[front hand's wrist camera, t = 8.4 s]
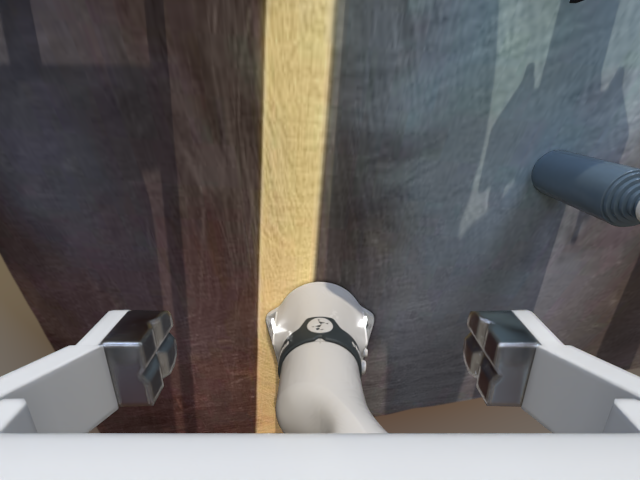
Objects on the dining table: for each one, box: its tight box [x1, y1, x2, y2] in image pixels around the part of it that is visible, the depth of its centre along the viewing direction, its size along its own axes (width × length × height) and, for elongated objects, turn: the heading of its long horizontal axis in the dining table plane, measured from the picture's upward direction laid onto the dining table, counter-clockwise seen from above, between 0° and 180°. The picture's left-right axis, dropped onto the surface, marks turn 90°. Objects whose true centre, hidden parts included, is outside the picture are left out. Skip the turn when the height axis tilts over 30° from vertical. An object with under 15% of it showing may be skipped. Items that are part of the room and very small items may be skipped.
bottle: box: [532, 150, 640, 227], centre depth 48 cm, size 7×7×20 cm
